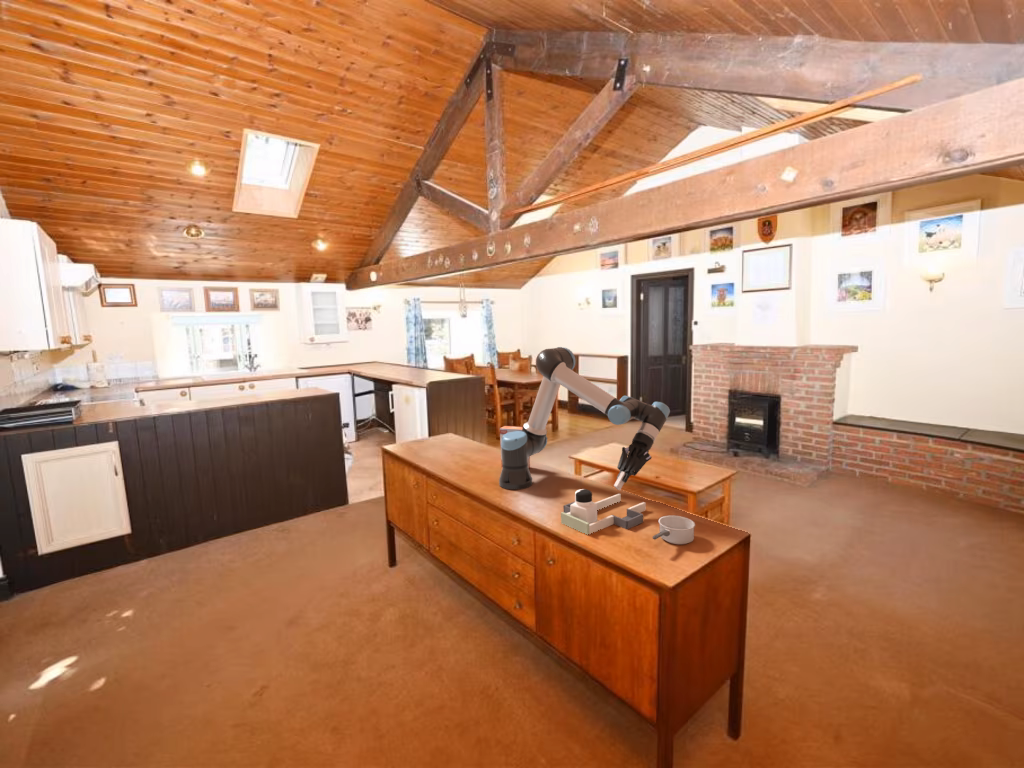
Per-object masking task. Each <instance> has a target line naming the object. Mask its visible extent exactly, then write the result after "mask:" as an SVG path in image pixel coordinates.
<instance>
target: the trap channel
mask: <svg viewBox="0 0 1024 768" xmlns="http://www.w3.org/2000/svg"><path fill="white" fill-rule="evenodd" d="M621 496H622V494H621V493H617V494H614V495H612V496H609V497H606V498H603V499H601V500H598V501H595V502H594V503H597V510H598V511H600V510H602V508H603V509H605V508H608V507H610V506H609V505H611V506H613V505H615V504H614V503H616V504H618V503H621V502H622V497H621ZM620 501H621V502H620ZM617 502H618V503H617ZM573 503H575V501H573V502H570V503H566V504H565V505H562V507H563V512H564V513H566V514H569V515H570V505H571V504H573ZM612 504H613V505H612ZM607 506H608V507H607ZM646 506H647V504H646V502H644V501H642V502H640V503H637V504H635V505H633V506H630V507H628V508H626V515H625V516H624V517H620V516H616V515H614V514H611V515H608V516H605V517H603V518H601V519H597V521H596V522H594V523H591V524H589V535H591V533H592V534H594V533H596V532H599V531H601V530H603V529H605V528H608V527H611V526H612V525H616V527H617V526H618V527H620V528H623V529H625V530H628V529H632V528H634V527H636V526H639V525H641V524H642V523H644V514H643V513H642V512H645V511H646V509H647V507H646ZM604 507H605V508H604ZM599 509H600V510H599ZM600 529H601V530H600ZM598 530H599V531H598ZM593 532H594V533H593Z"/></svg>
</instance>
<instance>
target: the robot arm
mask: <svg viewBox="0 0 1024 768" xmlns="http://www.w3.org/2000/svg"><path fill="white" fill-rule="evenodd" d="M575 366H576V356H575V354H574V353H573V351H572V350H571V349H569V348H567V347H562V346H558V347H552V348H546V349H543V350H541V351H540V352H539V353H538V354H537V355H536V358H535V367H536V369H537V371H538V373H539V374H540V375H542V380H541V383H540V385H539V389H538V390H537V394H536V397H535V401H534V404H533V406H532V409H531V412H530V415H529V418H528V421H526V422H524V423H523V426H522V427H523V428H522V431H513V432H509V433H506V434H505V435H503V437H502V443H501V445H500V448H501V447H502V467H501V468H502V469H501V472H500V476H499V479H498V480H499V481H498V482H499V483H498V484H499V487H501V488H503V489H505V490H506V489H507V490H523V489H527V488H529V487H531V486H532V485H533V477H532V475H531V474H532V473H531V472H530V469H529V468H528V457H529V456H530V457H532V456H534V455H536V454H538V453H540V452H542V451H543V450H544V449H545V448H546V446H547V444H548V437H547V433H548V431H547V428H546V427H547V424H548V421H549V419H550V415H551V413H552V410H553V407H554V404H555V401H556V398H557V396H558V393H559V390H560V387H561V386H562V387H564V388H565V389H566V390H568V391H570V392H571V393H572V394H574V395H575V396H577V397H578V398H580V399H582V400H583V401H585V402H586V403H588V404H589V405H591V406H593V407H594V408H595V409H596V410H599V411H601V412H602V413H603V414H604V415H606V416H607V418H608V420H609V422H610V423H612V424H613V425H617V426H619V425H624V424H626V423H628V422H629V421H631V420H633V419H634V420H637V421H640V422H641V424H640V426H639V427H638V429H637V431H636V433H635V434H634V436H633V437H632V440H631V441H632V442H631V444H630V445H628V446H627V447H624V446H623V447H622V448H621V455H620V457H619V461H618V463H617V469H618V471H619V472H618V474H617V475H616V481H615V482H614V484H613V487H614V488H615V489H616V490H617V491H621V490H622V488H623V486H624V484H625V483H627V481H628V480H629V478H630V477H631V476H636V475H637V474H638V473H639V472H640V470H642V468H644V466H645V465H646V464H647V462H648V461H650V460H652V458H653V456H652V455H651V454H650V453H649V452H650V450H651V449H652V447H653V445H654V444H655V443H654V442H655V441H656V440H657V437H658V435H659V434H660V432H661V430H662V429H663V427H664V425H665V423H666V422H667V419H668V417H669V415H670V414H671V410H670V407H669V406H668V405H667V404H665V403H664V402H662V401H654V402H653V403H652V404H649V403H646V402H643V401H641V400H639V399H637V398H634V397H632V396H628V395H623V396H622V397H621V398H619V399H618V398H616V397H615V396H613V395H611V394H610V393H609V392H607V391H605V390H604V389H602V388H601V387H599V386H597V385H596V384H595V383H592V382H591V381H590V380H588V379H587V378H585V377H584V376H582V375H580V374H579V373H577V372H575V371H574V368H575Z"/></svg>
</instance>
